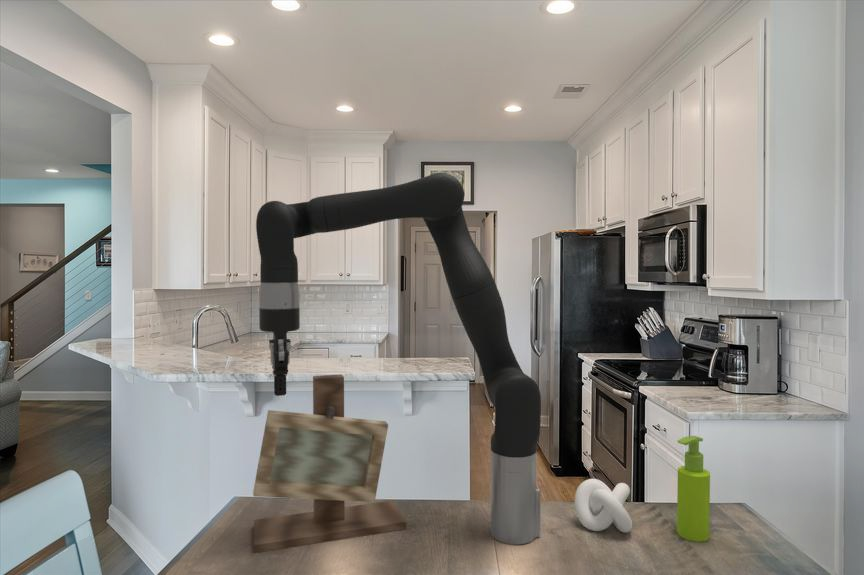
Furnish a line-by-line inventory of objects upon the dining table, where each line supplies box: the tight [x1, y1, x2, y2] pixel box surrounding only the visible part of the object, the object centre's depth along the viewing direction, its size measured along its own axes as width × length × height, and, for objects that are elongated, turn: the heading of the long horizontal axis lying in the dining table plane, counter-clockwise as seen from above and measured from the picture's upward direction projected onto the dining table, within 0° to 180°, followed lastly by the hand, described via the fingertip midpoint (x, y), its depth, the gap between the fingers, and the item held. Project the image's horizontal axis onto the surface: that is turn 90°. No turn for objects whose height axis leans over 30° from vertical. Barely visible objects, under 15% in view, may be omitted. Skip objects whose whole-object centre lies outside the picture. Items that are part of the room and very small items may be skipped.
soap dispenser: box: [676, 435, 711, 543], centre depth 109 cm, size 6×7×20 cm
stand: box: [253, 373, 407, 554], centre depth 111 cm, size 30×11×32 cm, turn 109°
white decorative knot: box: [573, 478, 633, 534], centre depth 112 cm, size 11×12×9 cm
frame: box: [252, 406, 389, 503], centre depth 108 cm, size 24×2×18 cm, turn 109°
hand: (280, 394), depth 105 cm, fingers closed
